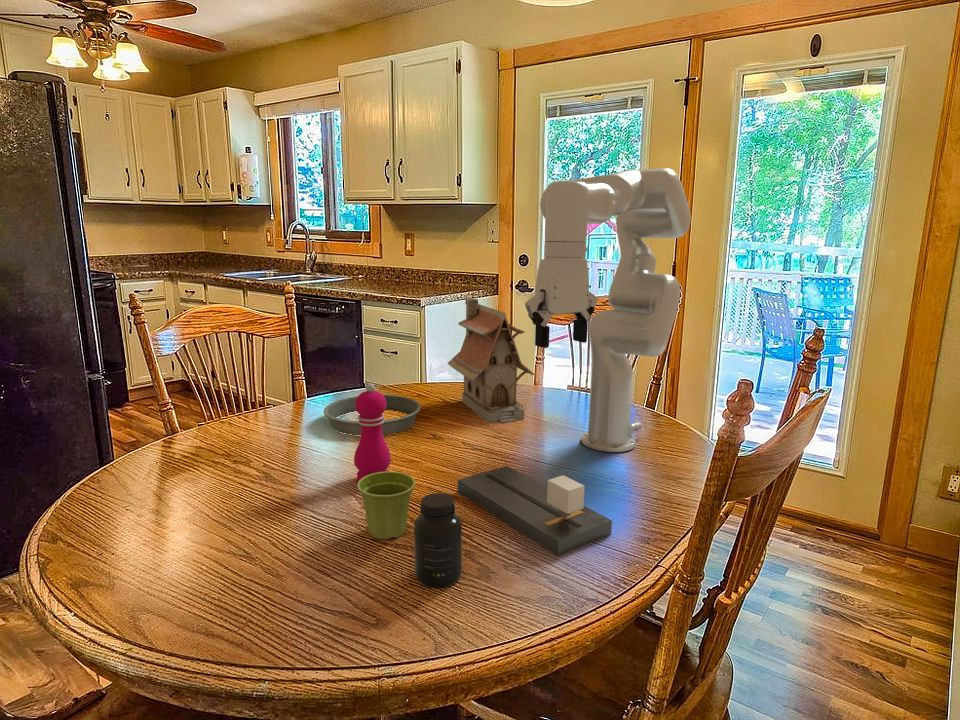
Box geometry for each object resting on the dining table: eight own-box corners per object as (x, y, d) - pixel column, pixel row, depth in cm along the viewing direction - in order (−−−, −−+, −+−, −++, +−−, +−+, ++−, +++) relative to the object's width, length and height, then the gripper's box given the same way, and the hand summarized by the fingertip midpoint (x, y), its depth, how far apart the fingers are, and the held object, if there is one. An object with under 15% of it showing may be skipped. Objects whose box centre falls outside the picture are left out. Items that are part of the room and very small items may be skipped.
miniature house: (475, 426, 152) (476, 309, 146) (446, 401, 174) (446, 298, 168) (539, 419, 159) (543, 306, 152) (503, 395, 181) (505, 296, 174)
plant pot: (425, 523, 102) (424, 475, 101) (400, 550, 94) (399, 499, 92) (376, 514, 105) (375, 468, 104) (348, 539, 97) (346, 489, 95)
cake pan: (374, 404, 171) (373, 389, 170) (440, 420, 158) (440, 404, 157) (304, 426, 152) (303, 409, 151) (372, 447, 138) (372, 428, 137)
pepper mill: (383, 489, 115) (381, 389, 111) (348, 486, 117) (344, 387, 112) (396, 474, 122) (394, 380, 118) (363, 471, 124) (359, 377, 119)
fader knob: (546, 511, 100) (547, 480, 99) (561, 505, 102) (563, 475, 101) (567, 523, 96) (568, 490, 95) (582, 517, 98) (584, 485, 97)
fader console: (457, 491, 115) (457, 479, 114) (506, 477, 121) (507, 465, 121) (557, 556, 92) (558, 540, 92) (611, 534, 99) (612, 519, 99)
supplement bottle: (415, 563, 90) (414, 489, 87) (460, 562, 91) (460, 488, 88) (414, 590, 83) (413, 511, 81) (463, 588, 84) (463, 510, 81)
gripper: (583, 250, 117) (579, 336, 120) (515, 251, 107) (512, 345, 110) (613, 251, 111) (607, 342, 114) (543, 253, 101) (539, 352, 105)
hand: (561, 344), depth 112 cm, fingers open, 9 cm apart
